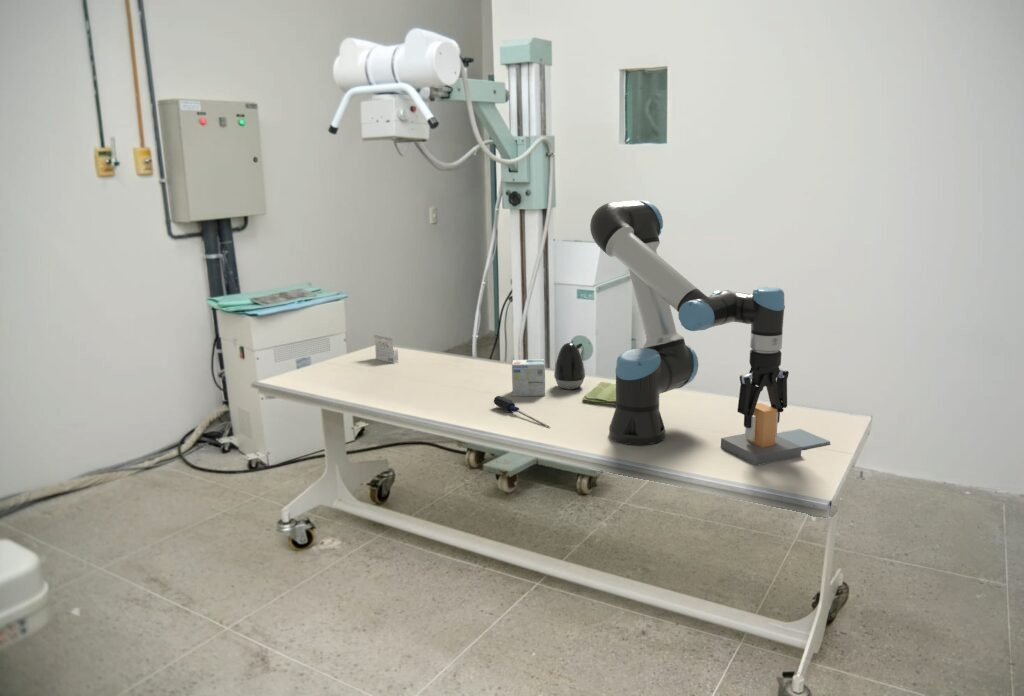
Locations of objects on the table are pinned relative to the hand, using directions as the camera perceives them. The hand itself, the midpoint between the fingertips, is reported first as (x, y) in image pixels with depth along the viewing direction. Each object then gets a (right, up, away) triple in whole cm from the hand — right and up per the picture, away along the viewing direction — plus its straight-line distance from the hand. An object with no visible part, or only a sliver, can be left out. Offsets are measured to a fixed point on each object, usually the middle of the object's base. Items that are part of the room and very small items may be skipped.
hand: (760, 436), depth 202 cm
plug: (0, -4, +1) cm, 4 cm away
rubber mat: (+13, -2, +8) cm, 15 cm away
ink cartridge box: (-112, +18, +101) cm, 152 cm away
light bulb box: (-58, +8, +55) cm, 81 cm away
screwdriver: (-61, +2, +32) cm, 69 cm away
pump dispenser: (-45, +9, +61) cm, 76 cm away
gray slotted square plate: (0, -4, +1) cm, 4 cm away
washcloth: (-33, +6, +49) cm, 59 cm away
